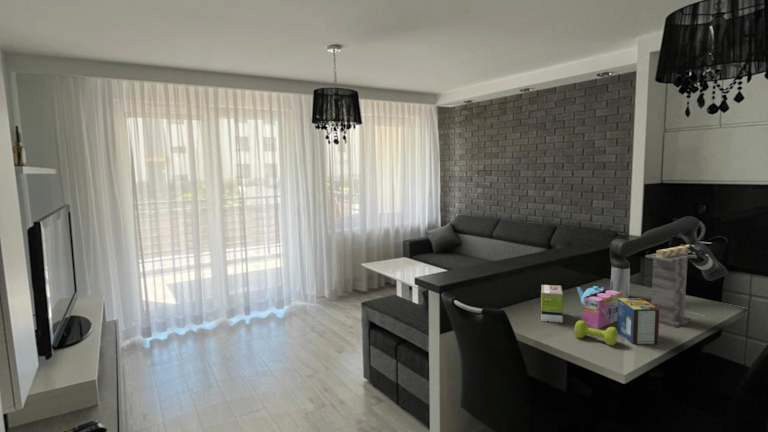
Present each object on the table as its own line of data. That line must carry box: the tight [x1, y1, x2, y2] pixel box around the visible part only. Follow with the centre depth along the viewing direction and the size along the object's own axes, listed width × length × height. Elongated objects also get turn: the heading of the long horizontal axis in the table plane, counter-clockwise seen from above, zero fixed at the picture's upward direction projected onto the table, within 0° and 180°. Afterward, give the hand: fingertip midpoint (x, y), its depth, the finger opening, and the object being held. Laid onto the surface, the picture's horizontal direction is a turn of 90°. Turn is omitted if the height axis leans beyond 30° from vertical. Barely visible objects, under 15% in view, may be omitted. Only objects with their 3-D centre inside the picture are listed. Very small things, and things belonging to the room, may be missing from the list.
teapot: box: [576, 285, 605, 306], centre depth 228 cm, size 15×15×11 cm
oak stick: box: [655, 244, 695, 258], centre depth 204 cm, size 27×3×3 cm, turn 118°
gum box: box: [582, 288, 622, 330], centre depth 206 cm, size 24×8×14 cm, turn 126°
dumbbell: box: [573, 319, 619, 347], centre depth 184 cm, size 16×8×7 cm, turn 47°
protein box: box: [616, 297, 660, 345], centre depth 185 cm, size 10×15×16 cm
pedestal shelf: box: [644, 252, 694, 328], centre depth 204 cm, size 18×14×32 cm
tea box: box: [540, 284, 564, 323], centre depth 213 cm, size 15×10×15 cm
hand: (685, 246), depth 208 cm, fingers closed on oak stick, 3 cm apart
